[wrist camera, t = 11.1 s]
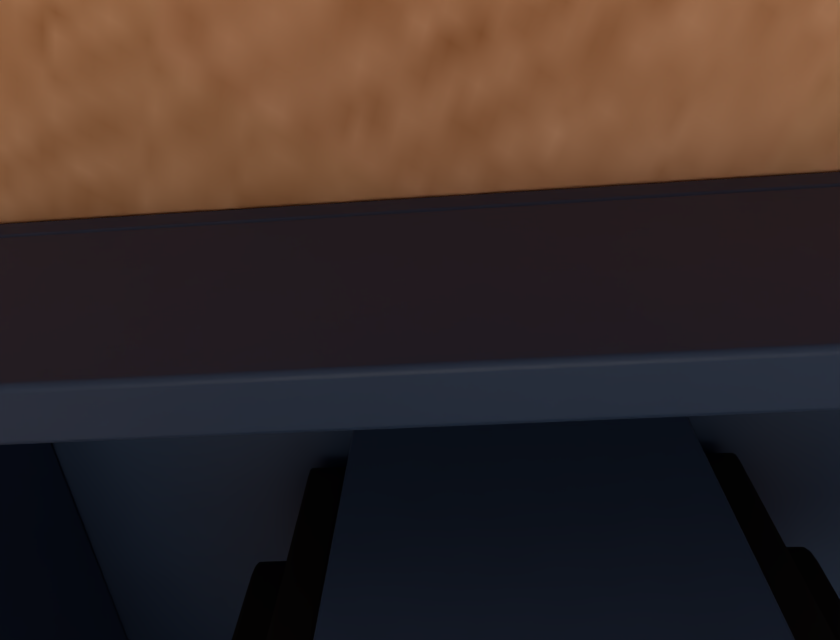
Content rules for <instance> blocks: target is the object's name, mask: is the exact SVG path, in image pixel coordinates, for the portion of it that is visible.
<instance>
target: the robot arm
mask: <svg viewBox="0 0 840 640" xmlns="http://www.w3.org/2000/svg"><path fill="white" fill-rule="evenodd" d="M705 455H706V457H707V459H708V461H709V463H710V465H711V467H712V469H713V471H714V474H715V476H716V478H717V480H718V482H719V484H720V486H721V488H722V490H723V492H724V494H725V496H726V498H727V500H728V502H729V504H730V507H731V509H732V511H733V513H734V515H735V517H736V519H737V521H738V523H739V525H740V527H741V529H742V531H743V533H744V535H745V538H746V540H747V542H748V544H749V546H750V548H751V550H752V552H753V554H754V556H755V558H756V560H757V562H758V564H759V566H760V568H761V571H762V573H763V575H764V577H765V579H766V581H767V583H768V585H769V587H770V589H771V591H772V593H773V595H774V597H775V599H776V602H777V604H778V606H779V608H780V610H781V612H782V614H783V616H784V618H785V620H786V622H787V624H788V626H789V628H790V630H791V632H792V635H793V637H794V639H795V640H840V599H839V597H838V596H837V594H836V592H835V590H834V589H833V587H832V585H831V583H830V582H829V580H828V578H827V576H826V575H825V573H824V571H823V570H822V568H821V566H820V564H819V563H818V561H817V560H816V558H815V557H814V555H813V554H812V553H811V552H810V551H809V550H808V549H806V548H805V547H786V545H785V544H784V542H783V540H782V538H781V536H780V534H779V532H778V531H777V529H776V527H775V525H774V523H773V521H772V519H771V518H770V516H769V514H768V512H767V510H766V508H765V506H764V505H763V503H762V501H761V499H760V497H759V495H758V493H757V491H756V490H755V488H754V486H753V484H752V482H751V480H750V478H749V477H748V475H747V473H746V471H745V469H744V467H743V465H742V464H741V462H740V460H739V458H738V457H737V456H736V454H734V453H711V454H705ZM345 471H346V467H328V468H312V469H311V470H310V473H309V476H308V479H307V483H306V487H305V491H304V495H303V499H302V503H301V507H300V510H299V514H298V518H297V522H296V526H295V530H294V534H293V537H292V541H291V545H290V549H289V553H288V557H287V561H265V562H259V563H258V564H257V565H256V566H255V568H254V571H253V573H252V576H251V579H250V582H249V585H248V588H247V592H246V595H245V598H244V601H243V605H242V608H241V611H240V614H239V618H238V621H237V624H236V627H235V631H234V634H233V637H232V640H313V638H314V633H315V628H316V623H317V618H318V612H319V607H320V602H321V597H322V591H323V586H324V581H325V576H326V571H327V565H328V560H329V555H330V550H331V544H332V539H333V534H334V529H335V523H336V518H337V513H338V508H339V503H340V497H341V492H342V487H343V482H344V476H345Z"/></svg>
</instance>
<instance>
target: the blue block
mask: <svg viewBox="0 0 840 640" xmlns="http://www.w3.org/2000/svg"><path fill="white" fill-rule="evenodd" d="M313 640H795V639H794V637H793V635H792V632H791V630H790V628H789V626H788V624H787V622H786V620H785V618H784V616H783V614H782V612H781V610H780V608H779V606H778V604H777V602H776V599H775V597H774V595H773V593H772V591H771V589H770V587H769V585H768V583H767V581H766V579H765V577H764V575H763V573H762V571H761V568H760V566H759V564H758V562H757V560H756V558H755V556H754V554H753V552H752V550H751V548H750V546H749V544H748V542H747V540H746V538H745V535H744V533H743V531H742V529H741V527H740V525H739V523H738V521H737V519H736V517H735V515H734V513H733V511H732V509H731V507H730V504H729V502H728V500H727V498H726V496H725V494H724V492H723V490H722V488H721V486H720V484H719V482H718V480H717V478H716V476H715V474H714V471H713V469H712V467H711V465H710V463H709V461H708V459H707V457H706V455H705V453H704V451H703V449H702V447H701V445H700V443H699V440H698V438H697V436H696V434H695V432H694V430H693V428H692V426H691V424H690V422H689V420H688V418H687V416H686V417H662V418H638V419H614V420H589V421H565V422H541V423H517V424H493V425H469V426H445V427H421V428H397V429H373V430H353V435H352V440H351V445H350V450H349V455H348V461H347V466H346V471H345V476H344V482H343V487H342V492H341V497H340V503H339V508H338V513H337V518H336V523H335V529H334V534H333V539H332V544H331V550H330V555H329V560H328V565H327V571H326V576H325V581H324V586H323V591H322V597H321V602H320V607H319V612H318V618H317V623H316V628H315V633H314V638H313Z"/></svg>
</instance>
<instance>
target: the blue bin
mask: <svg viewBox="0 0 840 640" xmlns="http://www.w3.org/2000/svg"><path fill="white" fill-rule="evenodd" d="M686 416H687V418H688V420H689V422H690V424H691V426H692V428H693V430H694V432H695V434H696V436H697V438H698V440H699V443H700V445H701V447H702V449H703V451H704V453H705V454H711V453H734V454H736V456H737V457H738V458H739V460H740V462H741V464H742V465H743V467H744V469H745V471H746V473H747V475H748V477H749V478H750V480H751V482H752V484H753V486H754V488H755V490H756V491H757V493H758V495H759V497H760V499H761V501H762V503H763V505H764V506H765V508H766V510H767V512H768V514H769V516H770V518H771V519H772V521H773V523H774V525H775V527H776V529H777V531H778V532H779V534H780V536H781V538H782V540H783V542H784V544H785V545H786V547H805V548H806V549H808V550H809V551H810V552H811V553H812V554H813V555H814V557H815V558H816V560H817V561H818V563H819V564H820V566H821V568H822V570H823V571H824V573H825V575H826V576H827V578H828V580H829V582H830V583H831V585H832V587H833V589H834V590H835V592H836V594H837V596H838V597H839V599H840V172H830V173H814V174H798V175H782V176H766V177H750V178H734V179H718V180H702V181H686V182H670V183H654V184H638V185H622V186H606V187H590V188H574V189H558V190H542V191H526V192H510V193H494V194H478V195H462V196H446V197H430V198H414V199H398V200H382V201H366V202H350V203H334V204H318V205H302V206H286V207H270V208H254V209H238V210H222V211H206V212H190V213H174V214H158V215H142V216H126V217H110V218H94V219H78V220H62V221H46V222H30V223H14V224H0V640H232V637H233V634H234V631H235V627H236V624H237V621H238V618H239V614H240V611H241V608H242V605H243V601H244V598H245V595H246V592H247V588H248V585H249V582H250V579H251V576H252V573H253V571H254V568H255V566H256V565H257V564H258V563H259V562H265V561H287V557H288V553H289V549H290V545H291V541H292V537H293V534H294V530H295V526H296V522H297V518H298V514H299V510H300V507H301V503H302V499H303V495H304V491H305V487H306V483H307V479H308V476H309V473H310V470H311V469H312V468H328V467H346V466H347V461H348V455H349V450H350V445H351V440H352V435H353V430H373V429H397V428H421V427H445V426H469V425H493V424H517V423H541V422H565V421H589V420H614V419H638V418H662V417H686Z"/></svg>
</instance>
